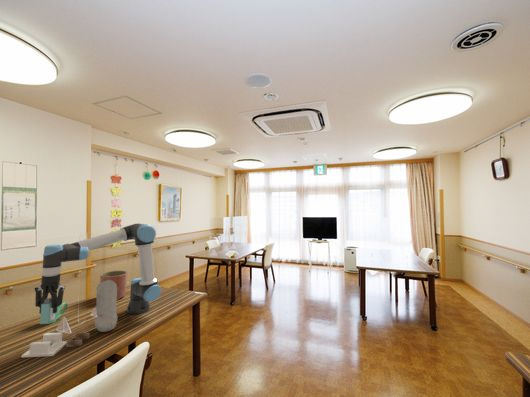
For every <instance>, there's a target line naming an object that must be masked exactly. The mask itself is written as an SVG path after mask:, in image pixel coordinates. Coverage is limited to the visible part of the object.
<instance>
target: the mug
mask: <svg viewBox="0 0 530 397" xmlns="http://www.w3.org/2000/svg"><path fill="white" fill-rule="evenodd" d="M62 306H63V308H62ZM67 307H68V303H66V302H62V304H61V305H59V306H58V307H57V312H56V313H55V320H53V321H51V322H50V323H48V325H49V324H54V323H55V322H56V321H57V319H59V318H60V317H61V316H62V315H63V314H64V313H65V312H66V310H67V309H68V308H67Z"/></svg>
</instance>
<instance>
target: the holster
mask: <svg viewBox="0 0 530 397" xmlns="http://www.w3.org/2000/svg"><path fill="white" fill-rule="evenodd" d="M90 337H91V334H90V332H77V333H75V335H74V339H68V340H66V341H67V343H66V345H65V347H66V348H74V347H77V346H79V347H82V346H81V345H83V340H90Z"/></svg>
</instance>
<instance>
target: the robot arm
mask: <svg viewBox="0 0 530 397" xmlns="http://www.w3.org/2000/svg"><path fill="white" fill-rule="evenodd" d="M156 236H157V231H156V229H155V227H154V226H152V225H150V224H148V223H147V224H146V223H133V224H129V225H126V226H123V227H120V228H119V229H118V230H115V231H111V232H108V233H104V234H100V235H97V236H94V237H90V238H87V239H83V240H79V241H77V242H73V243H64V244H49V245H46V246H44V249H43V254H42V256H43V258H42V269H41V280H40V281H41V282H40V283H41V284H40V286H39V285H38V286H36V287H35V288H34V291H35V307H38V308H39V314H40V315H41V304H43V303H44V300H45V299H47V298H49V297H48V296H49V295H50V297H51V299H52V308H51V311H50V321H51V320H53V319H55V313H56V312H57V307H58V306H59V305H61V304H62V303H63V300H64V299H63V298H64V292H65V289H66V285H64V286H63V285H61V283H60V281H61V270H62V263H66V262H67V263H68V262H75V261H83V260H88V257H89V254H90V251H92V250H96V249H100V248H103V247H105V246H106V247H107V246H109V245H113V244H114V243H115V244H116V243H119V242H122V241H123V242H126V241H129V240H134V245H135V246H136V247H137V250H138V260H139V268H140V277H138V278H137V277H136V278H133V279H132V280H131V281H130V282H131V283H130V294H129V296H130V297H129V302H128V305H127V308H126V313H127V314H129V315H139V314H144V313H146V312H148V311H149V310H150V309H151V308H150V307H151V304H150V302H154V301H156V300H157V299H158V298H159V297H160V296H161V294H162V287H161V286H160V285H159V282H158V278H157V277H155V268H154V256H153V246H152V245H153V244H154V242H155V241H154V240H155V238H156Z"/></svg>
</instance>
